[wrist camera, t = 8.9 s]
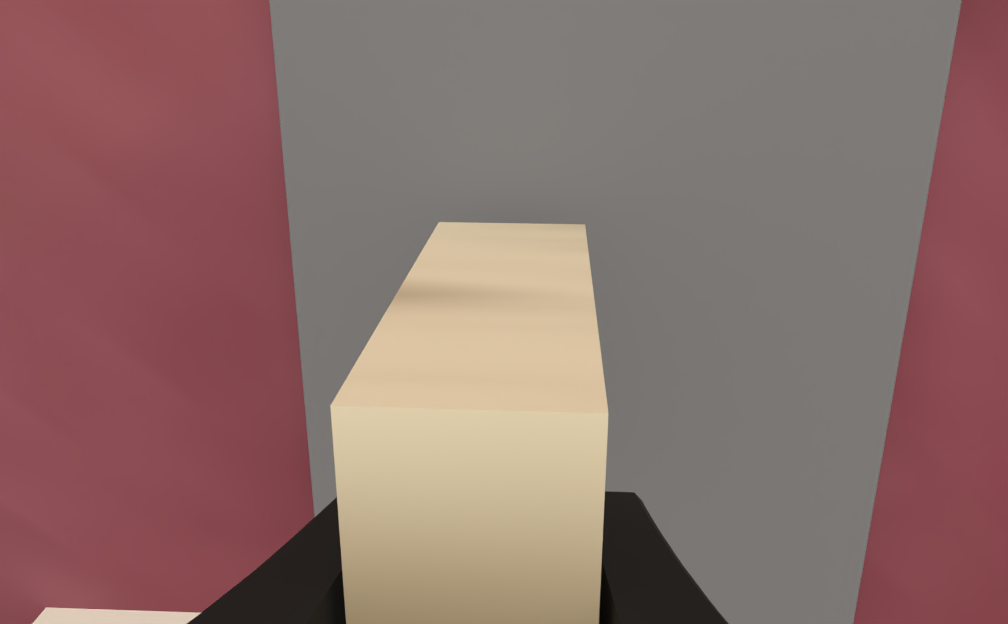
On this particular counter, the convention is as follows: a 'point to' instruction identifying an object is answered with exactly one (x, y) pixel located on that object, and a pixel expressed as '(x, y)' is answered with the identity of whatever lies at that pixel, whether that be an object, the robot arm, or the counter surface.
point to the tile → (111, 616)
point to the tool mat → (648, 235)
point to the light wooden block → (477, 437)
